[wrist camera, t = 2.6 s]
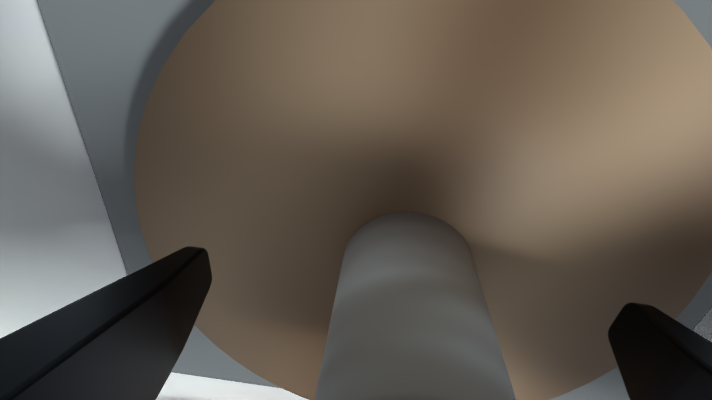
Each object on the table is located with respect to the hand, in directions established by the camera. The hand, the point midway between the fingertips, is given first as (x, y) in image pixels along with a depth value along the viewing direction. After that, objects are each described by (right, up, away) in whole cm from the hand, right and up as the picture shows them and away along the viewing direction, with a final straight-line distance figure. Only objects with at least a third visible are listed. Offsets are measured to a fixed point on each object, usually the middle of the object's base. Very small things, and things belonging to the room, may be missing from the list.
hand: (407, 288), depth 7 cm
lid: (0, +1, +1) cm, 2 cm away
